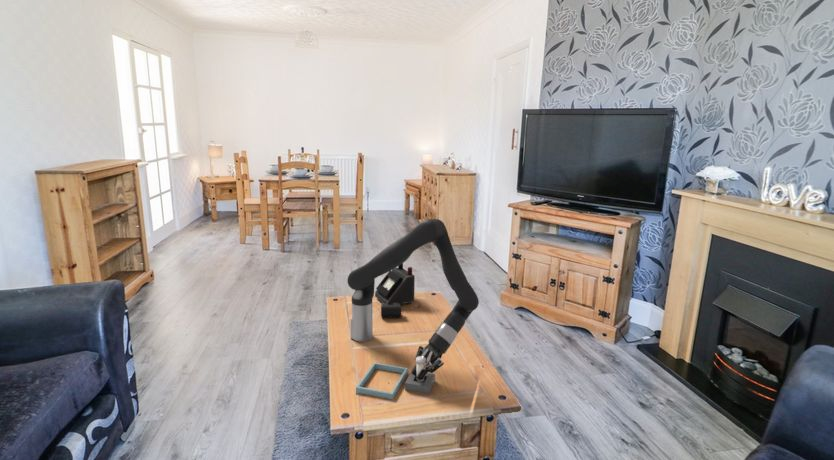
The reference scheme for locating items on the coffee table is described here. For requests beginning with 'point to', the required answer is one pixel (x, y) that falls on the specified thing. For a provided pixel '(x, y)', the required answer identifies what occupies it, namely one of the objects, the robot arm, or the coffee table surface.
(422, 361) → the white light bulb
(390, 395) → the parts tray
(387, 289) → the voltmeter
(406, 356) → the coffee table surface
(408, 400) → the coffee table surface
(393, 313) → the black rectangular block
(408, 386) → the socket block
